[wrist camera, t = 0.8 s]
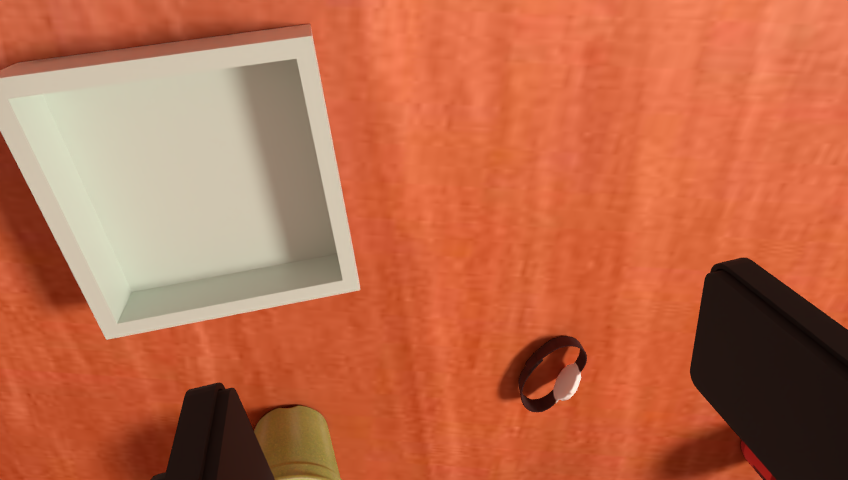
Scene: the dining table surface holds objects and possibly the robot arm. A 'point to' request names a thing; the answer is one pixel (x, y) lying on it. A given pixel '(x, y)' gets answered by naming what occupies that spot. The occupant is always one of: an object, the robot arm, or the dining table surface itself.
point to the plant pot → (297, 444)
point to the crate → (185, 175)
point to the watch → (565, 380)
